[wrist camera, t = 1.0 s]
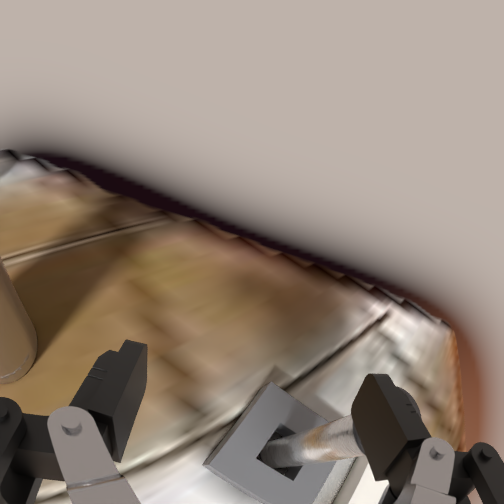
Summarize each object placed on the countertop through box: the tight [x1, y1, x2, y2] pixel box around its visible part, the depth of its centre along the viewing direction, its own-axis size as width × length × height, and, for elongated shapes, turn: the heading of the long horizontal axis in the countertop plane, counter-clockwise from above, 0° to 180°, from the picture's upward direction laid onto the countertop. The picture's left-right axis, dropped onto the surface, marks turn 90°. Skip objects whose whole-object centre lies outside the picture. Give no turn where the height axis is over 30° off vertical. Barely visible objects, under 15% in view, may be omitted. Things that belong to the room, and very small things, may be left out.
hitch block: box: [203, 382, 337, 504], centre depth 27 cm, size 11×11×3 cm
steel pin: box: [260, 387, 422, 468], centre depth 22 cm, size 5×5×18 cm
